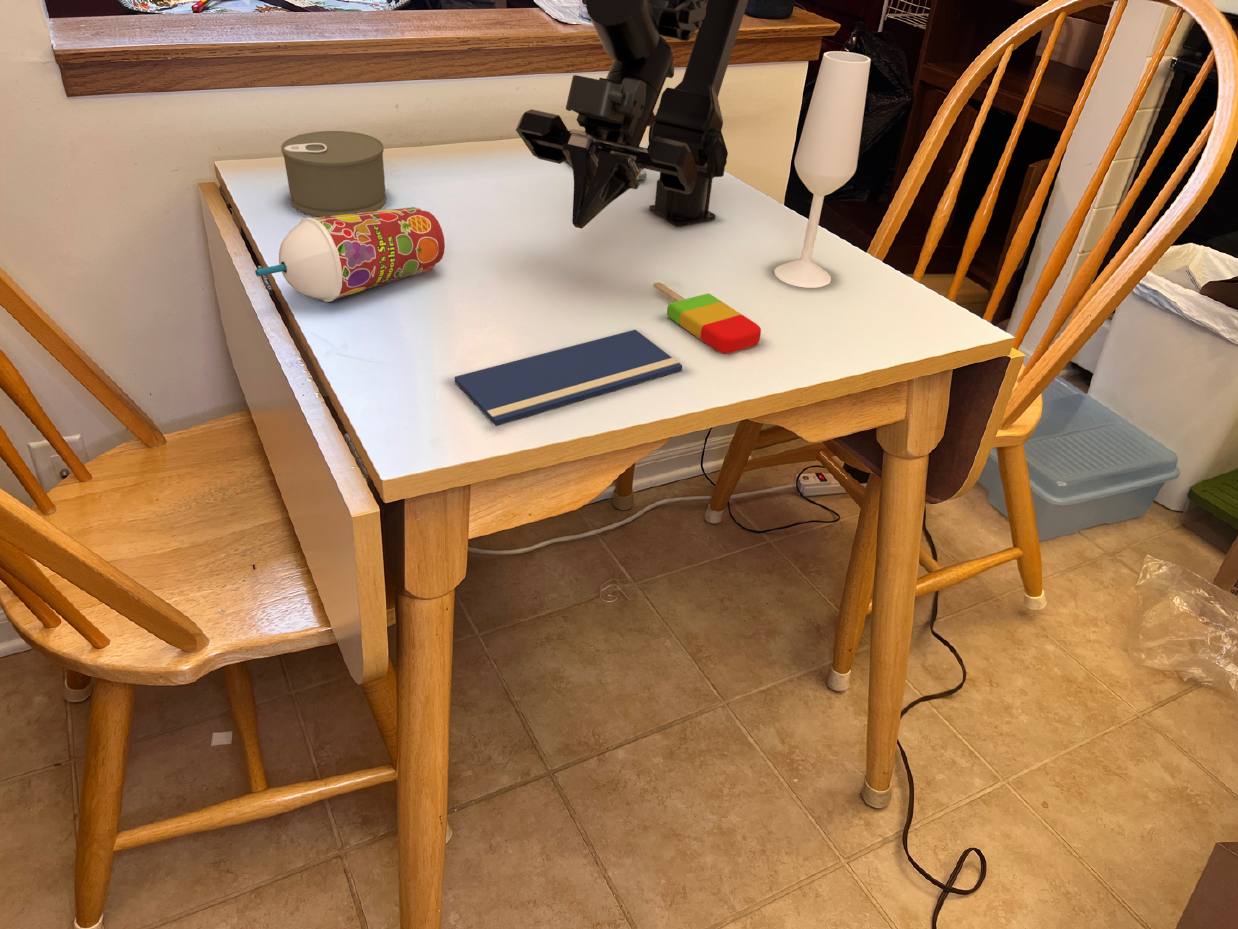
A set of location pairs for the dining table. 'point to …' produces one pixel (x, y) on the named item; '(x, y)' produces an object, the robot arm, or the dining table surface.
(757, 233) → the dining table surface
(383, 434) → the dining table surface
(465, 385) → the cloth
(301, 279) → the smoothie
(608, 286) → the dining table surface
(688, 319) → the popsicle
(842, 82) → the champagne flute
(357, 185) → the can
